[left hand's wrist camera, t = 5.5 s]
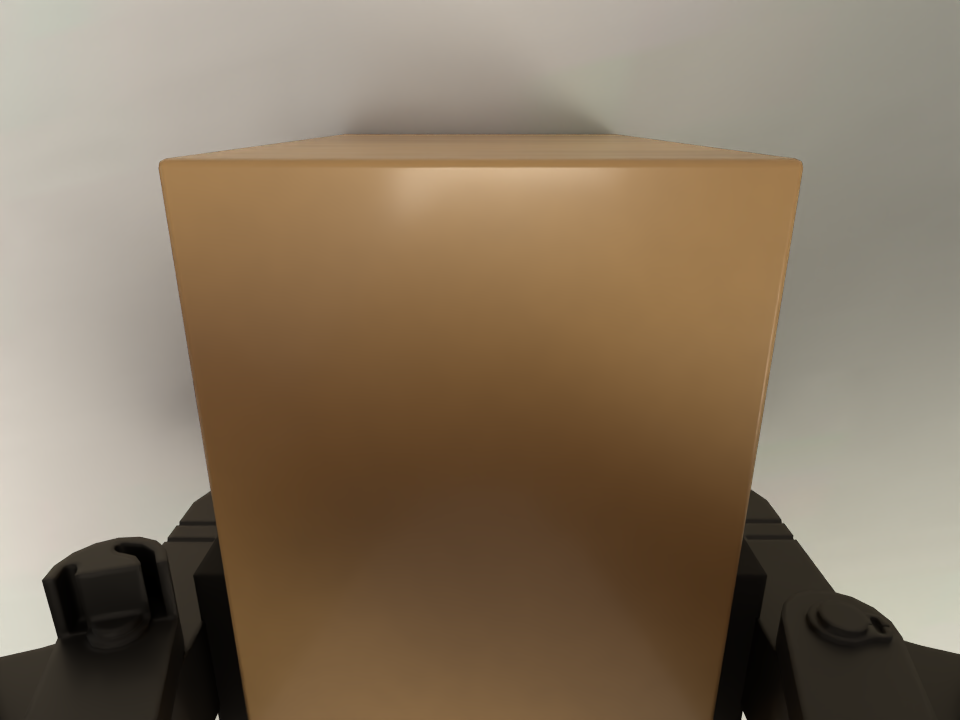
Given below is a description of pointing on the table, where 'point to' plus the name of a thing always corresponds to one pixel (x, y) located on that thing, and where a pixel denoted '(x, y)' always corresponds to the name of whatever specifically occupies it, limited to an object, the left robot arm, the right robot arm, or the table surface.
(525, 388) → the post
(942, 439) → the table surface
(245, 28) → the table surface
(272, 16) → the table surface
